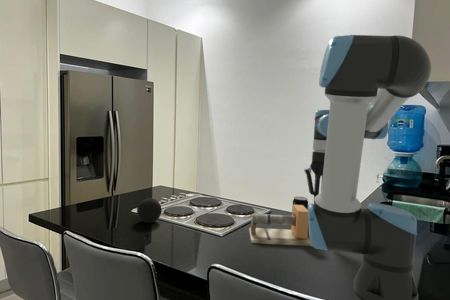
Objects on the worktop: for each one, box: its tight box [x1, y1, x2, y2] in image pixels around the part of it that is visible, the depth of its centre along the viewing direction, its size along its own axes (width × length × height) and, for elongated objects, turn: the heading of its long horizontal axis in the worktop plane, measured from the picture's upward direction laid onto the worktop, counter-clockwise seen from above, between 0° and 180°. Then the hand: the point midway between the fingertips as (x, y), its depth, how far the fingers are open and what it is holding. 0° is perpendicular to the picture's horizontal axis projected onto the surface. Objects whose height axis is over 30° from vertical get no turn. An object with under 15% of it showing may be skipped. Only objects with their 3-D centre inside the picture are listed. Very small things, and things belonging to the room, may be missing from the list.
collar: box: [290, 204, 308, 239], centre depth 126 cm, size 4×10×10 cm, turn 179°
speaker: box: [136, 197, 163, 224], centre depth 137 cm, size 10×10×10 cm
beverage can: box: [291, 196, 309, 210], centre depth 144 cm, size 7×7×12 cm
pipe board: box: [248, 213, 313, 247], centre depth 126 cm, size 23×14×9 cm, turn 89°
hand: (318, 213), depth 126 cm, fingers closed
